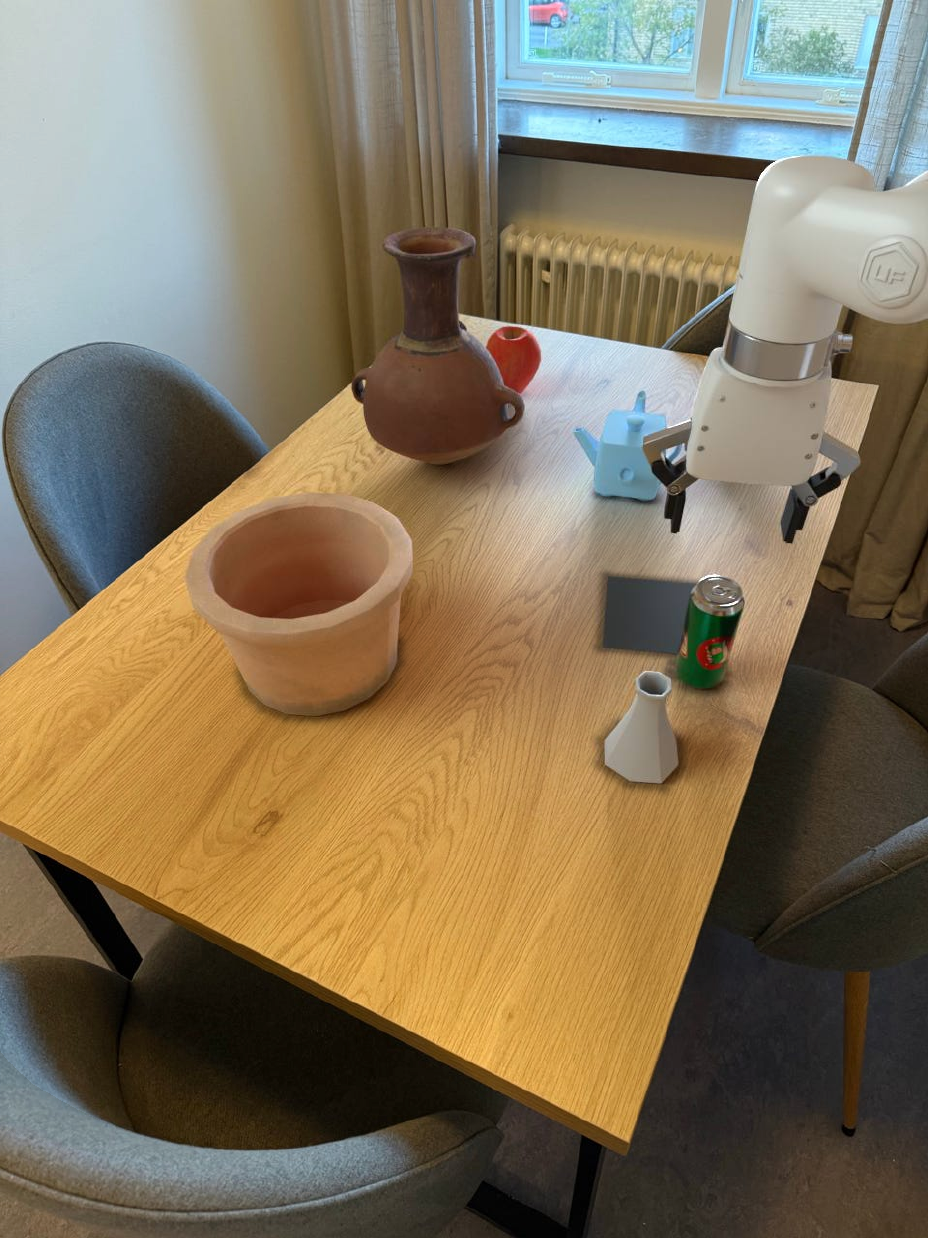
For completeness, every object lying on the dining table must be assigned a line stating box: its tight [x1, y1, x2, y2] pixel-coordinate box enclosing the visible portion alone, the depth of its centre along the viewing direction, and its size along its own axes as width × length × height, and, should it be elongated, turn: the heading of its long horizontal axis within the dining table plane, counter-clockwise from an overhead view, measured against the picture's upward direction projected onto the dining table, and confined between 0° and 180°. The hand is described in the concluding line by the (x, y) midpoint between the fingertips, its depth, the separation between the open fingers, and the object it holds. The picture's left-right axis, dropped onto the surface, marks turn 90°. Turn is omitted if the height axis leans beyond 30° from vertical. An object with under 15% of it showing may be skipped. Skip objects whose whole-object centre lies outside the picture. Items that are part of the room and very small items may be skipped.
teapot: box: [572, 390, 683, 502], centre depth 110 cm, size 18×14×10 cm
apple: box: [485, 325, 542, 395], centre depth 129 cm, size 9×8×11 cm
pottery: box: [184, 492, 414, 717], centre depth 86 cm, size 22×22×14 cm
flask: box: [604, 670, 679, 784], centre depth 76 cm, size 7×7×10 cm
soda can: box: [674, 574, 746, 690], centre depth 83 cm, size 5×5×12 cm
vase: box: [350, 226, 525, 466], centre depth 109 cm, size 25×20×30 cm
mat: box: [602, 575, 697, 655], centre depth 94 cm, size 12×12×1 cm
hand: (729, 528), depth 74 cm, fingers open, 9 cm apart
